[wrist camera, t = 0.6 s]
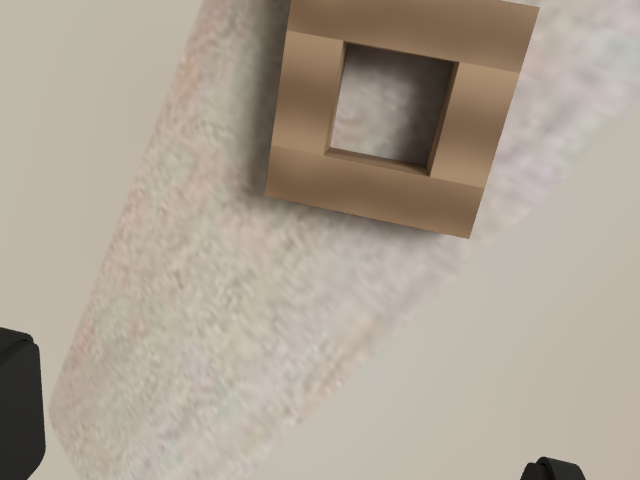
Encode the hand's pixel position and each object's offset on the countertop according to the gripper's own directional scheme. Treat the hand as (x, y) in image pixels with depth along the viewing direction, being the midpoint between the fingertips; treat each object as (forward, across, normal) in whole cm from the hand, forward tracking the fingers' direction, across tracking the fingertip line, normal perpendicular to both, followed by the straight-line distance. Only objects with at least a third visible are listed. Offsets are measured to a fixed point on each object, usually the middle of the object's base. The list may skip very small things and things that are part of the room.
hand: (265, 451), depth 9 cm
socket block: (+28, -1, -4) cm, 28 cm away
